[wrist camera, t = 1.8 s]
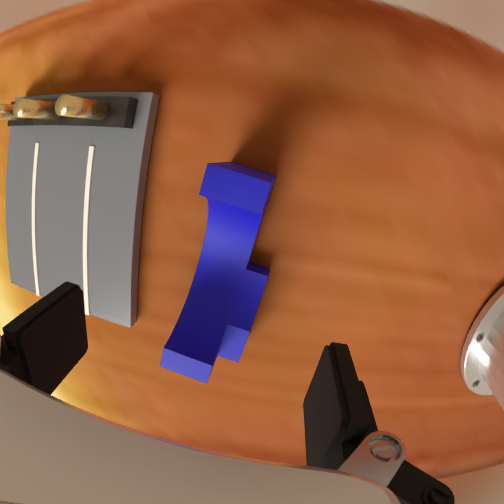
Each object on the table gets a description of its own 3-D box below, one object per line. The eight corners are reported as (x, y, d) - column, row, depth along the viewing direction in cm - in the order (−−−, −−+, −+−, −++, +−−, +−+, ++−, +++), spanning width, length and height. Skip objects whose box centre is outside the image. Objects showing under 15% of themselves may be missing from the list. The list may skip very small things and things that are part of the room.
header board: (160, 95, 18) (152, 92, 17) (136, 321, 24) (129, 329, 22) (24, 98, 19) (14, 97, 18) (19, 279, 24) (10, 283, 23)
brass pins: (138, 99, 17) (93, 85, 13) (132, 128, 18) (87, 123, 13) (20, 102, 18) (-25, 100, 13) (17, 125, 19) (-28, 127, 14)
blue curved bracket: (244, 339, 23) (231, 391, 17) (188, 319, 23) (160, 365, 18) (299, 183, 19) (303, 193, 14) (231, 161, 19) (207, 163, 14)
